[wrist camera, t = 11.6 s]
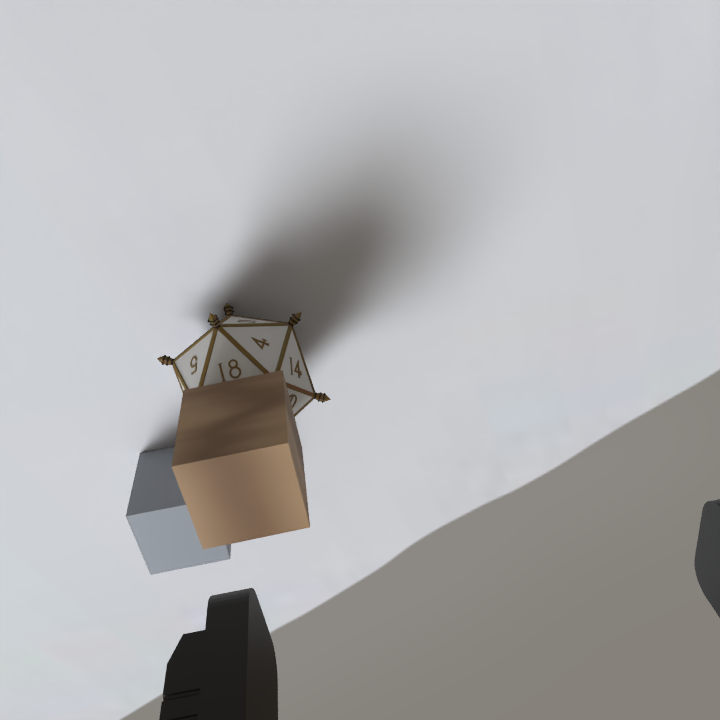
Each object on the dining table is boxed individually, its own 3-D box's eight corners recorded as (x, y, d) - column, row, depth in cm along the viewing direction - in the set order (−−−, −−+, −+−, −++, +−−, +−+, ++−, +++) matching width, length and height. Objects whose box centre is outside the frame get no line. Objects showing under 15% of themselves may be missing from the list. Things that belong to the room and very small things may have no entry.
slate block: (215, 438, 46) (210, 499, 40) (232, 494, 48) (230, 558, 43) (139, 452, 45) (125, 516, 40) (161, 508, 48) (150, 574, 43)
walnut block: (282, 370, 34) (287, 443, 29) (301, 447, 37) (309, 527, 32) (183, 390, 34) (171, 466, 29) (210, 466, 37) (203, 549, 32)
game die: (253, 291, 45) (328, 274, 36) (296, 412, 46) (377, 423, 38) (120, 337, 40) (169, 330, 32) (171, 469, 42) (232, 497, 33)
